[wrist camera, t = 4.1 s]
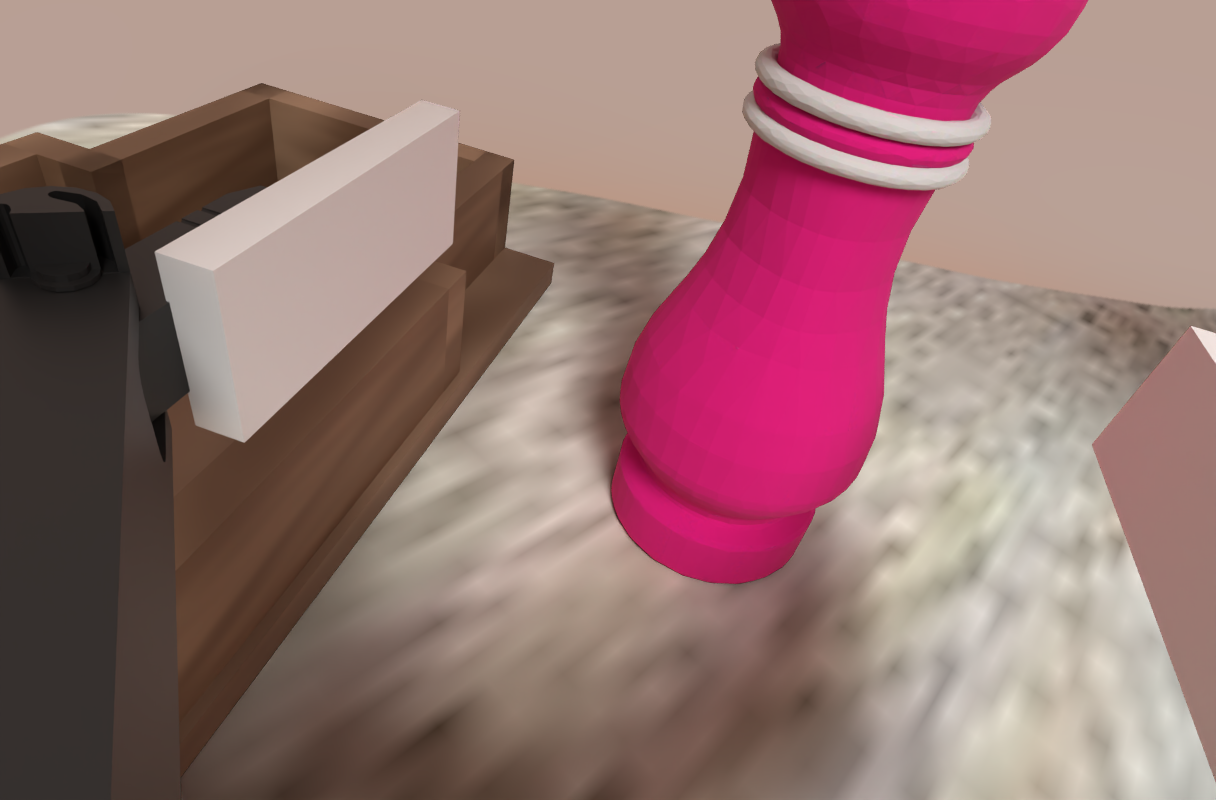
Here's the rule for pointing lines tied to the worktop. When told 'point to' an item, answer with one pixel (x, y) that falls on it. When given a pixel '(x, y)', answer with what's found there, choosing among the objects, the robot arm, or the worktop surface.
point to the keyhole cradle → (324, 407)
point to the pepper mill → (806, 274)
